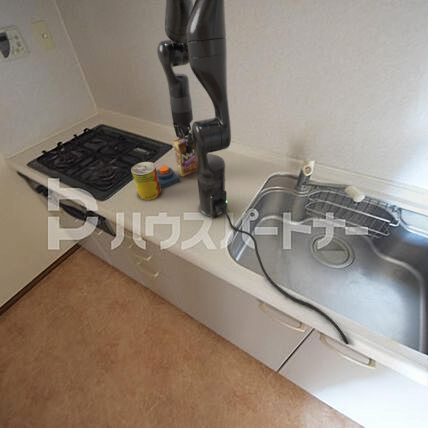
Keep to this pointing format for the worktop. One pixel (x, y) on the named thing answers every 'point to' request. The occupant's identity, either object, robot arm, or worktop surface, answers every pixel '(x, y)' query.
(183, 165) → the candy box
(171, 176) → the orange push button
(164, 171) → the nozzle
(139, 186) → the yellow food can
